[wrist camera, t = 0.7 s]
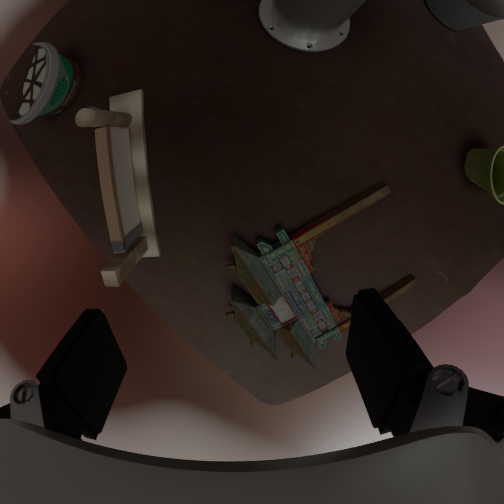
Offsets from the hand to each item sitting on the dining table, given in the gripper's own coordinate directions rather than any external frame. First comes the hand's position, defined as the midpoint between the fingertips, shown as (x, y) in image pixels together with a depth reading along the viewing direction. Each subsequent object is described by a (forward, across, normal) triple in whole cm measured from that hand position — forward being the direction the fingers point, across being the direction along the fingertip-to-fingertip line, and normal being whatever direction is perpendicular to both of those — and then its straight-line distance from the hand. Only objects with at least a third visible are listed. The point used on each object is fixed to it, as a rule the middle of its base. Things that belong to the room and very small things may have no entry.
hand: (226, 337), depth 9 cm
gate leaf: (+28, +15, -4) cm, 32 cm away
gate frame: (+29, +15, -4) cm, 33 cm away
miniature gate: (+30, -11, +14) cm, 35 cm away
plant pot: (+29, -41, -4) cm, 50 cm away
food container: (+29, +24, -21) cm, 43 cm away
